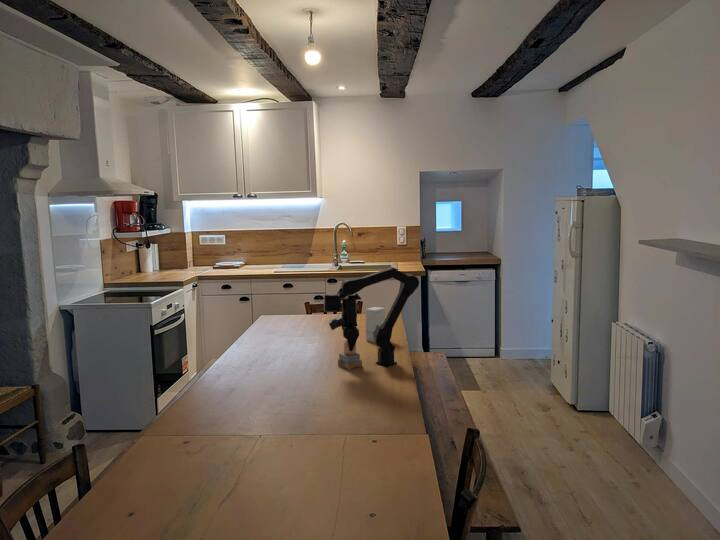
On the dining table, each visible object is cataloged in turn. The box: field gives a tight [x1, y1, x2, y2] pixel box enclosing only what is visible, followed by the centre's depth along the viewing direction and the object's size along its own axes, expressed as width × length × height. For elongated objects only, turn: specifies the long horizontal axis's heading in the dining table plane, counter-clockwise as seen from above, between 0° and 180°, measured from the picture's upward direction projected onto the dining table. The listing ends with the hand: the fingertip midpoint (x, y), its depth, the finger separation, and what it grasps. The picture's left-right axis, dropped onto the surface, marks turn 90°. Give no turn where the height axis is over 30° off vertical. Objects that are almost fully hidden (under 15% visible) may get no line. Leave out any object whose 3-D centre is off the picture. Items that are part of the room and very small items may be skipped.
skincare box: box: [365, 306, 386, 343], centre depth 259 cm, size 8×7×16 cm
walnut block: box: [337, 358, 363, 371], centre depth 221 cm, size 7×7×3 cm
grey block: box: [338, 352, 361, 363], centre depth 220 cm, size 6×6×2 cm
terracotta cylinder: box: [343, 339, 357, 355], centre depth 220 cm, size 5×5×5 cm
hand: (350, 348), depth 220 cm, fingers open, 8 cm apart
